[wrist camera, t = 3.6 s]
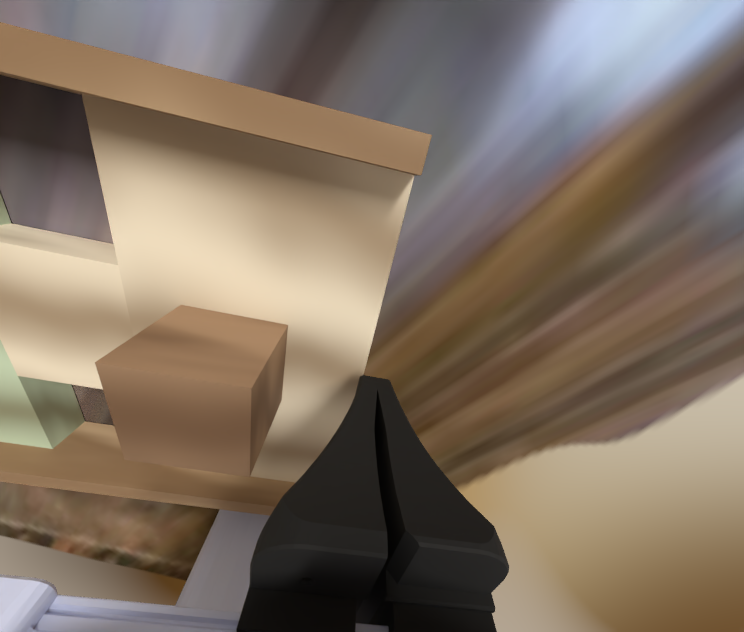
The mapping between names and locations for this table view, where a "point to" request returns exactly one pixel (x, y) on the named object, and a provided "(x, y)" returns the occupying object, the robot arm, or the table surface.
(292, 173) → the board
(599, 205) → the table surface
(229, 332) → the walnut block
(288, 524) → the robot arm
